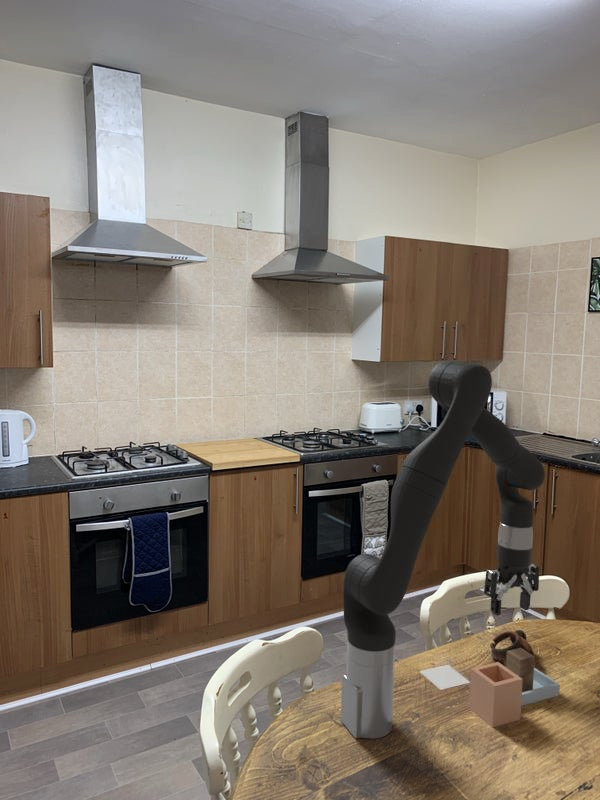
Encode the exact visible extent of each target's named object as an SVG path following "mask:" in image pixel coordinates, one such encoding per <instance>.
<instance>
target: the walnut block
mask: <svg viewBox="0 0 600 800" xmlns="http://www.w3.org/2000/svg"><path fill="white" fill-rule="evenodd" d="M534 660H535V661H536V657H535V655H534V656H533V655H532V654H530V653H528V652H527V651H525V650H524V649H522V648H518V649H514V650H509V651H507V656H506V660H505V661H506V662H505V667H506V668H508V669H509V670H510V671H512V672H513V673H515V674H516V675H518V676H519V677H520V678H522V679H523V681H522V692H526V691H530V690H533V677H534Z"/></svg>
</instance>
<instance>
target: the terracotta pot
mask: <svg viewBox="0 0 600 800" xmlns="http://www.w3.org/2000/svg"><path fill="white" fill-rule="evenodd" d="M469 676H470V677H469V679H470V680H469V681H470V683H469V699H468V708H469V710H471V711H472V712H473V713H475V714H476V715H477V717H479V718H480V719H481V720H483V721H484V722H485V723H486V724H487V725H489V726H490V728H496V727H499V726H503V725H506V724H510V723H513V722H517V721H520V720H521V715H522V714H521V713H522V706H521V699H522V681H523V679H522V678H520V677H519V676H518V675H516V674H515V673H513V672H512V671H510V670H509V669H508V668H506V665H503V664H502V663H500V661H496V662H492V663H488V664H484V665H480V666H475V667H471V668H470V675H469Z"/></svg>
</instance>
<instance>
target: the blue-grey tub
mask: <svg viewBox="0 0 600 800" xmlns="http://www.w3.org/2000/svg"><path fill="white" fill-rule="evenodd" d="M560 687H561V684H560V683H558V682H557V681H556V680H554V679H552V678H551V677H549V676H548V675H546V674H545V673H543V672H542V671H540V670H539V669H537V668H534V677H533V690H530V691H526V692H522V699H521V707H523V706H526V705H529V704H530V705H531V704H534V703H537V702H541V701H544V700H547V699H552V698H554V697H558V696H560V691H561V688H560Z"/></svg>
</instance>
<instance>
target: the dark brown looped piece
mask: <svg viewBox="0 0 600 800" xmlns="http://www.w3.org/2000/svg"><path fill="white" fill-rule="evenodd" d="M507 639H509V640H510V641H511V643H512V644H511V645H510V646H507V647H506V648H500V649H499V648H496V647H497V645H498V644H500V643H501V642H502V641H505V640H507ZM489 647H490V649H491V658H492V659H494V660H495V661H499V662H501V661H502V662H504V661H506V656H507V651H509V650H514V649H518V648H522V649H524V650H525V651H527V652H528V653H530V654H532V655H533V656H535V653H534V651H533V649H532V646H531V645H530V643H529V642H528V641H527V635H526V633H525V632H524V631H523V630H521V629H519V630H515V631H511V630H509V631H504V632H502V633H500V634H498V635H497V636H495V637H494V638H493V639H492V642H491V644H490V646H489ZM536 667H537V662H536V659H535V660H534V668H536ZM536 669H537V668H536Z"/></svg>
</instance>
